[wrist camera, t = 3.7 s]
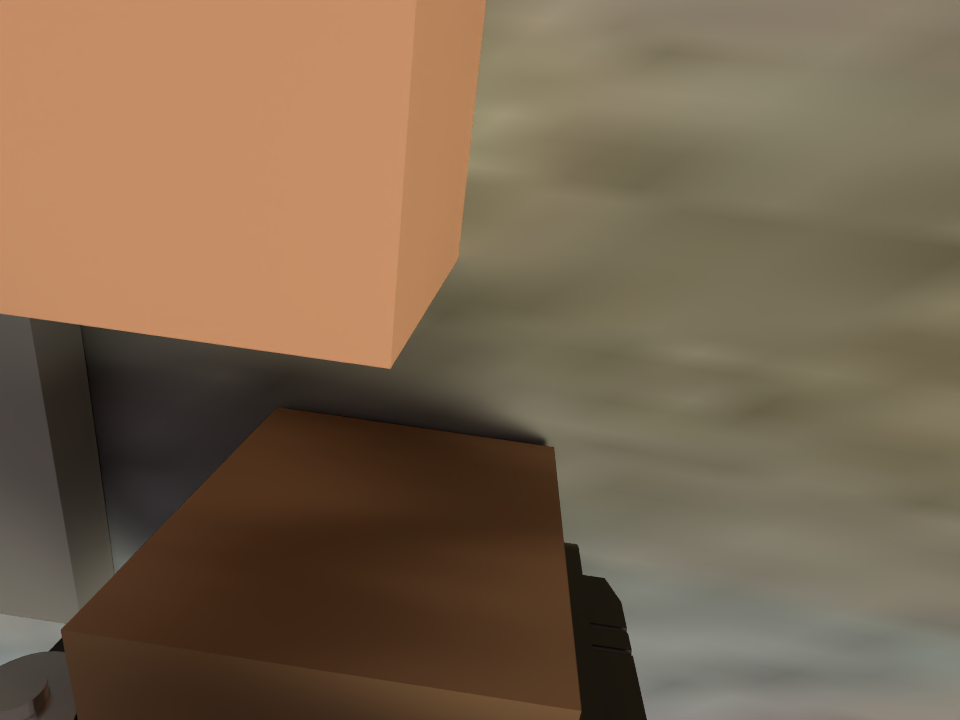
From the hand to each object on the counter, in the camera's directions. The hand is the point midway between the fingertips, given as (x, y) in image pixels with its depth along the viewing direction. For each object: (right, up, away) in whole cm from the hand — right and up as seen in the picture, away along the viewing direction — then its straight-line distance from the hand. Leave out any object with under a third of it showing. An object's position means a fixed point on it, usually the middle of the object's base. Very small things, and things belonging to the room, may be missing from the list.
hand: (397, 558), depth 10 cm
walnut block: (0, 0, 0) cm, 0 cm away
